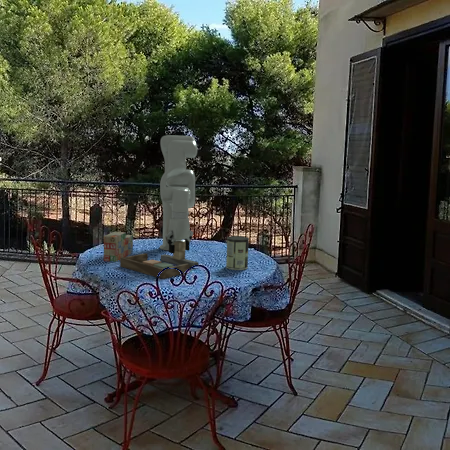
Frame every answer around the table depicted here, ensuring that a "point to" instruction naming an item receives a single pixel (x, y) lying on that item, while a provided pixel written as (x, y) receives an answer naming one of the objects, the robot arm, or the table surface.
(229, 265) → the coffee can
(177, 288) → the table surface
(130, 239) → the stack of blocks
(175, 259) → the scraper
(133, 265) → the box
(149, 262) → the tile terracotta
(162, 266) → the tile sage
